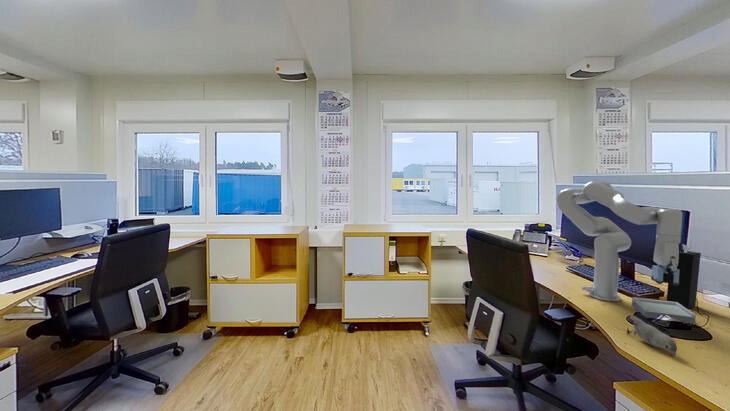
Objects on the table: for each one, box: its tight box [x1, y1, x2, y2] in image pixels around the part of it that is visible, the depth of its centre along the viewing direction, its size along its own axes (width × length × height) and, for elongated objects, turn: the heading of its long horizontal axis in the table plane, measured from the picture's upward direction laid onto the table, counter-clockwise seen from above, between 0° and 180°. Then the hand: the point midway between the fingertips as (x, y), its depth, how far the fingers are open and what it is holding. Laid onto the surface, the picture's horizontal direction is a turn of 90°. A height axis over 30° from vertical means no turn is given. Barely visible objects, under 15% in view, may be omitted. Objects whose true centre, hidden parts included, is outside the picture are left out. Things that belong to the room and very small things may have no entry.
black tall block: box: [666, 243, 702, 310], centre depth 150 cm, size 8×8×28 cm
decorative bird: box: [626, 314, 678, 357], centre depth 114 cm, size 5×16×8 cm, turn 7°
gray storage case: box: [650, 264, 680, 286], centre depth 138 cm, size 8×5×7 cm, turn 69°
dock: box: [631, 296, 697, 326], centre depth 140 cm, size 16×14×4 cm
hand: (664, 280), depth 138 cm, fingers closed on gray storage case, 5 cm apart
